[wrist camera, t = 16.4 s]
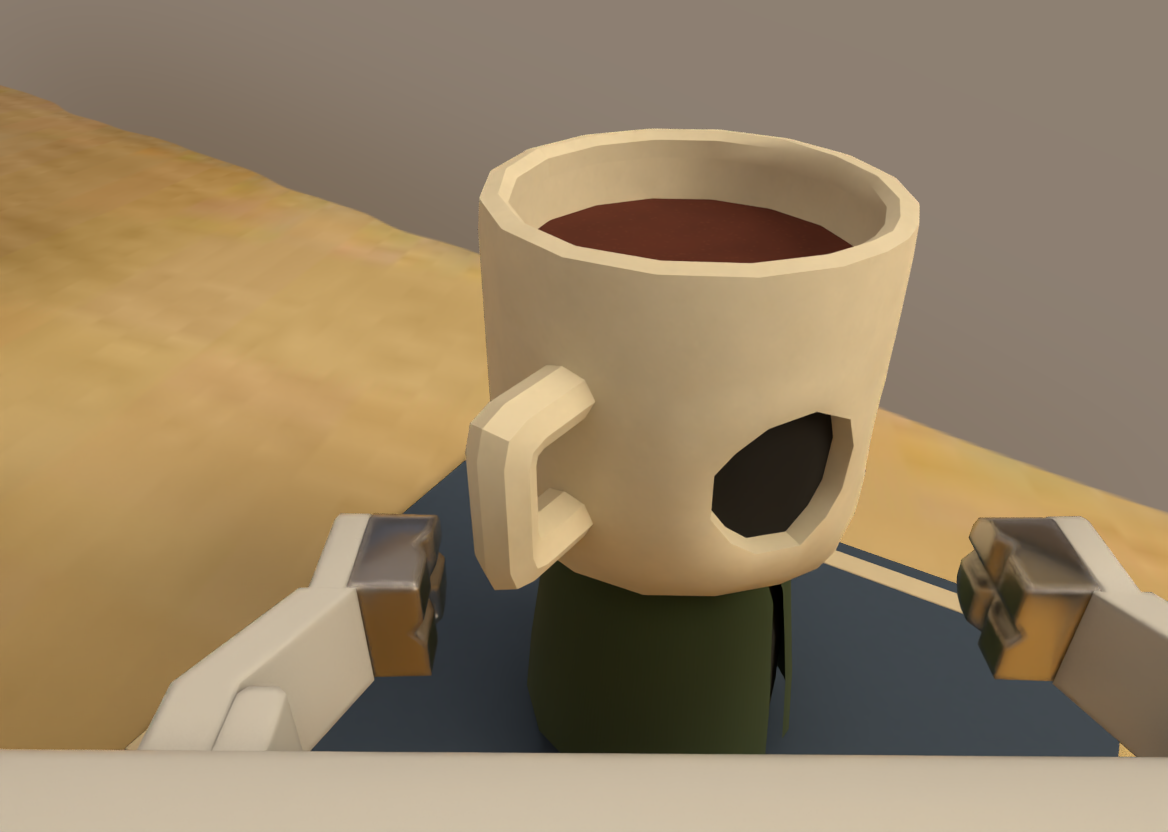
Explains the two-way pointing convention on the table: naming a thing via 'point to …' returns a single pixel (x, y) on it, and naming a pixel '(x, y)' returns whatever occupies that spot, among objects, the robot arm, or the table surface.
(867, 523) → the table surface
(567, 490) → the character mug
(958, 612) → the napkin
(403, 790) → the robot arm
